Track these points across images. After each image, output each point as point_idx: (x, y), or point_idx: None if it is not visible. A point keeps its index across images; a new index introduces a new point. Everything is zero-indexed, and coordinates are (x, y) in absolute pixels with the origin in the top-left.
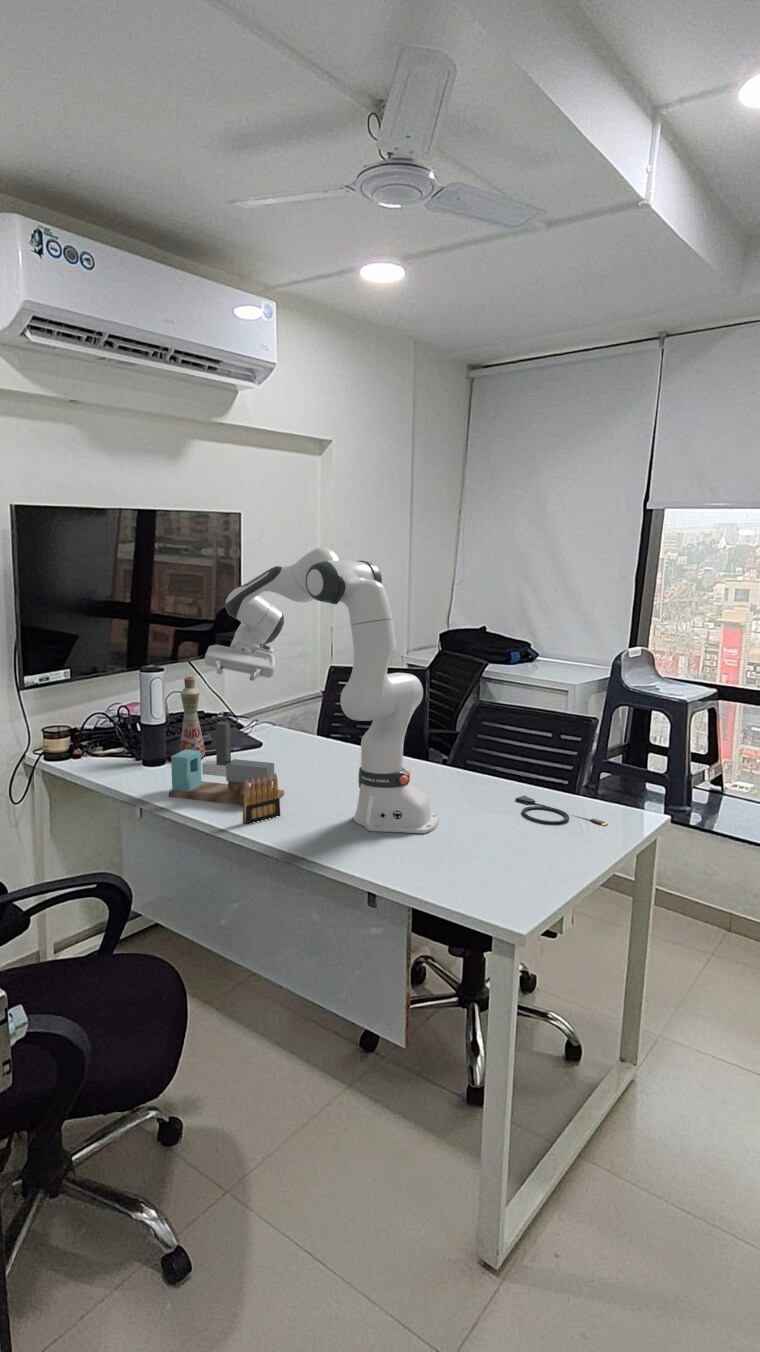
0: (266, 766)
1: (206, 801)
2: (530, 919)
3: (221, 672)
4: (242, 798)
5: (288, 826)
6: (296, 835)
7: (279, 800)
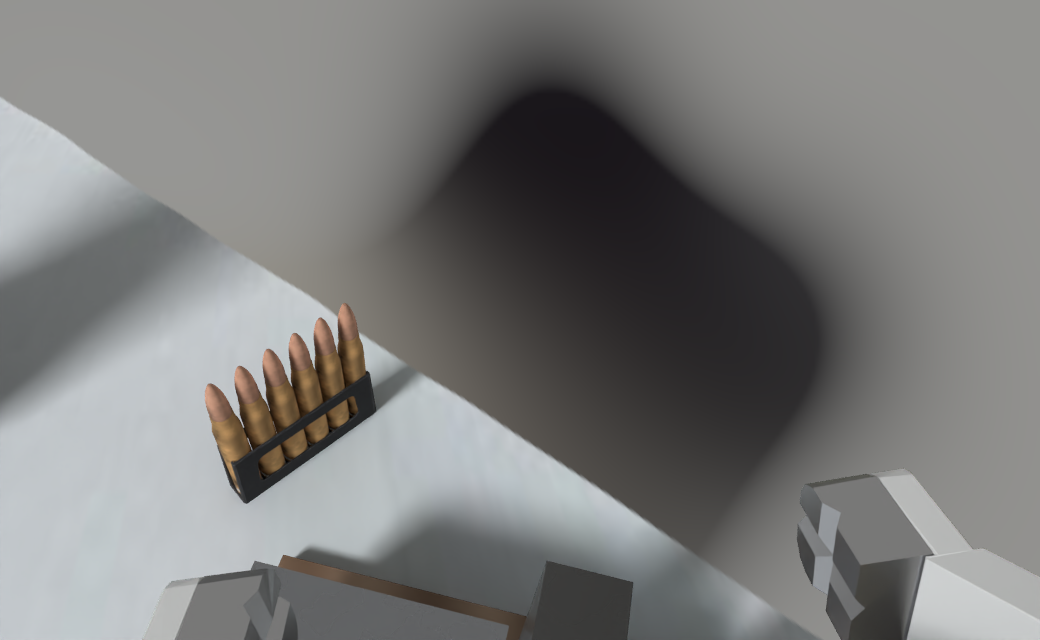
0: None
1: None
2: None
3: (807, 520)
4: None
5: None
6: (185, 322)
7: (219, 450)
